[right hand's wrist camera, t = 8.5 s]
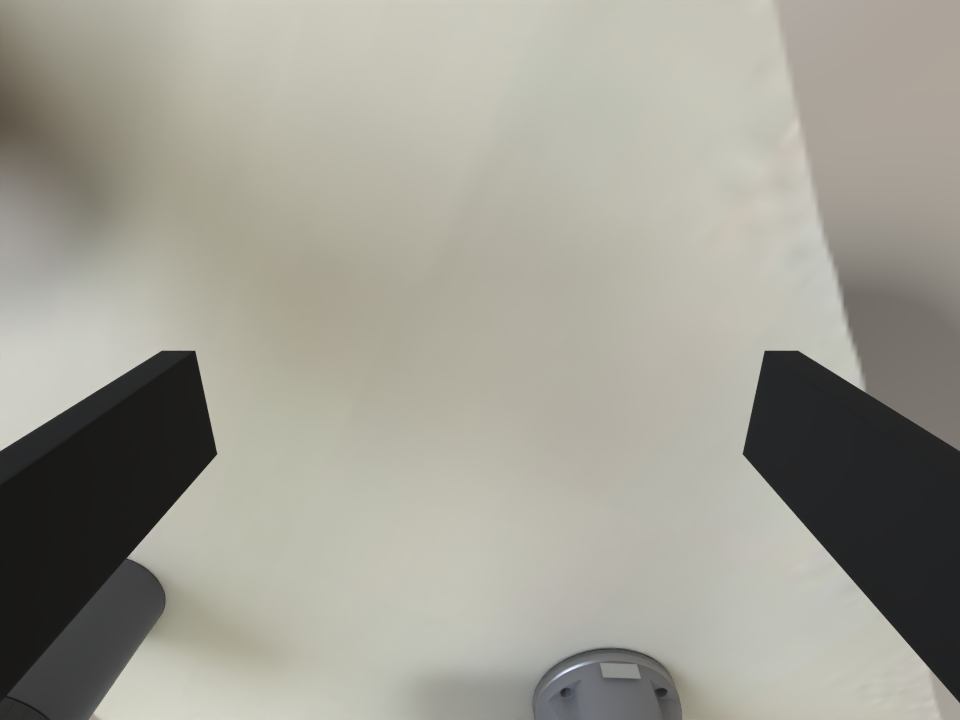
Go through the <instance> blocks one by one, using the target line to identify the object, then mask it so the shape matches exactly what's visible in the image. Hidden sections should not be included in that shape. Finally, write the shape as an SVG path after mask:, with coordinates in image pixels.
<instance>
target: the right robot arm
mask: <svg viewBox="0 0 960 720" xmlns="http://www.w3.org/2000/svg"><path fill="white" fill-rule="evenodd" d="M216 455H217V451H216V446H215V441H214V437H213V432H212V427H211V423H210V418H209V413H208V409H207V404H206V399H205V394H204V390H203V385H202V380H201V376H200V371H199V366H198V362H197V357H196V352H195V351H161V352H159V353H158V354H156V355H154V356H153V357H151V358H150V359H148V360H146V361H145V362H143V363H142V364H140V365H138V366H137V367H135V368H133V369H132V370H130V371H129V372H127V373H125V374H124V375H122V376H121V377H119V378H117V379H116V380H114V381H113V382H111V383H109V384H108V385H106V386H105V387H103V388H101V389H100V390H98V391H96V392H95V393H93V394H92V395H90V396H88V397H87V398H85V399H84V400H82V401H80V402H79V403H77V404H76V405H74V406H72V407H71V408H69V409H68V410H66V411H64V412H63V413H61V414H59V415H58V416H56V417H55V418H53V419H51V420H50V421H48V422H47V423H45V424H43V425H42V426H40V427H39V428H37V429H35V430H34V431H32V432H31V433H29V434H27V435H26V436H24V437H22V438H21V439H19V440H18V441H16V442H14V443H13V444H11V445H10V446H8V447H6V448H5V449H3V450H2V451H0V703H1V701H2V700H3V699H4V698H5V697H6V696H7V695H8V693H9V692H10V691H11V690H12V689H13V688H14V686H15V685H16V684H17V683H18V682H19V681H20V680H21V678H22V677H23V676H24V675H25V674H26V673H27V672H28V670H29V669H30V668H31V667H32V666H33V665H34V664H35V662H36V661H37V660H38V659H39V658H40V657H41V656H42V654H43V653H44V652H45V651H46V650H47V649H48V648H49V646H50V645H51V644H52V643H53V642H54V641H55V640H56V638H57V637H58V636H59V635H60V634H61V633H62V631H63V630H64V629H65V628H66V627H67V626H68V625H69V623H70V622H71V621H72V620H73V619H74V618H75V617H76V615H77V614H78V613H79V612H80V611H81V610H82V609H83V607H84V606H85V605H86V604H87V603H88V602H89V601H90V599H91V598H92V597H93V596H94V595H95V594H96V593H97V591H98V590H99V589H100V588H101V587H102V586H103V585H104V583H105V582H106V581H107V580H108V579H109V578H110V576H111V575H112V574H113V573H114V572H115V571H116V570H117V568H118V567H119V566H120V565H121V564H122V563H123V562H124V560H125V559H126V558H127V557H128V556H129V555H130V554H131V552H132V551H133V550H134V549H135V548H136V547H137V546H138V544H139V543H140V542H141V541H142V540H143V539H144V538H145V536H146V535H147V534H148V533H149V532H150V531H151V530H152V528H153V527H154V526H155V525H156V524H157V523H158V521H159V520H160V519H161V518H162V517H163V516H164V515H165V513H166V512H167V511H168V510H169V509H170V508H171V507H172V505H173V504H174V503H175V502H176V501H177V500H178V499H179V497H180V496H181V495H182V494H183V493H184V492H185V491H186V489H187V488H188V487H189V486H190V485H191V484H192V483H193V481H194V480H195V479H196V478H197V477H198V476H199V475H200V473H201V472H202V471H203V470H204V469H205V468H206V466H207V465H208V464H209V463H210V462H211V461H212V460H213V458H214V457H215V456H216ZM743 455H744V456H745V457H746V458H747V460H748V461H749V462H750V463H751V464H752V465H753V466H754V468H755V469H756V470H757V471H758V472H759V473H760V475H761V476H762V477H763V478H764V479H765V480H766V481H767V483H768V484H769V485H770V486H771V487H772V488H773V489H774V491H775V492H776V493H777V494H778V495H779V496H780V497H781V499H782V500H783V501H784V502H785V503H786V504H787V505H788V507H789V508H790V509H791V510H792V511H793V512H794V513H795V515H796V516H797V517H798V518H799V519H800V520H801V521H802V523H803V524H804V525H805V526H806V527H807V528H808V530H809V531H810V532H811V533H812V534H813V535H814V536H815V538H816V539H817V540H818V541H819V542H820V543H821V544H822V546H823V547H824V548H825V549H826V550H827V551H828V552H829V554H830V555H831V556H832V557H833V558H834V559H835V560H836V562H837V563H838V564H839V565H840V566H841V567H842V568H843V570H844V571H845V572H846V573H847V574H848V575H849V576H850V578H851V579H852V580H853V581H854V582H855V583H856V585H857V586H858V587H859V588H860V589H861V590H862V591H863V593H864V594H865V595H866V596H867V597H868V598H869V599H870V601H871V602H872V603H873V604H874V605H875V606H876V607H877V609H878V610H879V611H880V612H881V613H882V614H883V615H884V617H885V618H886V619H887V620H888V621H889V622H890V623H891V625H892V626H893V627H894V628H895V629H896V630H897V631H898V633H899V634H900V635H901V636H902V637H903V638H904V640H905V641H906V642H907V643H908V644H909V645H910V646H911V648H912V649H913V650H914V651H915V652H916V653H917V654H918V656H919V657H920V658H921V659H922V660H923V661H924V662H925V664H926V665H927V666H928V667H929V668H930V669H931V670H932V672H933V673H934V674H935V675H936V676H937V677H938V678H939V680H940V681H941V682H942V683H943V684H944V685H945V686H946V688H947V689H948V690H949V691H950V692H951V693H952V695H953V696H954V697H955V698H956V699H957V700H958V701H959V703H960V451H958V450H957V449H955V448H954V447H952V446H950V445H949V444H947V443H946V442H944V441H942V440H941V439H939V438H937V437H936V436H934V435H933V434H931V433H929V432H928V431H926V430H925V429H923V428H921V427H920V426H918V425H917V424H915V423H913V422H912V421H910V420H909V419H907V418H905V417H904V416H902V415H900V414H899V413H897V412H896V411H894V410H892V409H891V408H889V407H888V406H886V405H884V404H883V403H881V402H880V401H878V400H876V399H875V398H873V397H871V396H870V395H868V394H867V393H865V392H864V391H862V390H860V389H859V388H857V387H855V386H854V385H852V384H851V383H849V382H847V381H846V380H844V379H843V378H841V377H839V376H838V375H836V374H835V373H833V372H831V371H830V370H828V369H827V368H825V367H823V366H822V365H820V364H818V363H817V362H815V361H814V360H812V359H810V358H809V357H807V356H806V355H804V354H802V353H801V352H799V351H765V352H764V357H763V362H762V366H761V371H760V376H759V380H758V385H757V390H756V394H755V399H754V404H753V409H752V413H751V418H750V423H749V427H748V432H747V437H746V441H745V446H744V451H743ZM533 708H534V718H535V720H682V710H681V705H680V700H679V696H678V693H677V690H676V687H675V685H674V682H673V680H672V678H671V676H670V675H669V673H668V672H667V671H666V669H665V668H663V667H662V666H661V665H660V664H659V663H657V662H656V661H654V660H653V659H651V658H649V657H647V656H644V655H641V654H639V653H635V652H631V651H626V650H614V649H607V650H596V651H590V652H586V653H582V654H579V655H576V656H573V657H571V658H568V659H566V660H564V661H562V662H561V663H559V664H558V665H556V666H555V667H553V668H552V669H551V670H550V671H549V672H548V673H547V674H546V675H545V676H544V677H543V678H542V679H541V681H540V682H539V684H538V686H537V688H536V690H535V694H534V699H533Z"/></svg>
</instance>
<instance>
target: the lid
mask: <svg viewBox="0 0 960 720" xmlns="http://www.w3.org/2000/svg"><path fill="white" fill-rule="evenodd" d="M0 720H47V719H46V718H45V717H44V716H42V715H41V714H40V713H38V712H37V711H35V710H33V709H32V708H30V707H28V706H26V705H24V704H22V703H20V702H17V701H15V700H12V699H9V698H6V697H5V698H4V699H3V700H2V701H1V703H0Z"/></svg>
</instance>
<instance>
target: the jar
mask: <svg viewBox="0 0 960 720" xmlns="http://www.w3.org/2000/svg"><path fill="white" fill-rule="evenodd" d="M164 606H165V595H164V592H163V589H162V587H161V585H160V583H159V582H158V580H157V579H156V578H155V577H154V576H153V575H152V574H151V573H150V572H149V571H148V570H146V569H145V568H144V567H142V566H140V565H139V564H137V563H135V562H133V561H131V560H128V559H125V560H124V562H123V563H122V564H121V565H120V566H119V567H118V568H117V570H116V571H115V572H114V573H113V574H112V575H111V576H110V578H109V579H108V580H107V581H106V582H105V583H104V585H103V586H102V587H101V588H100V589H99V590H98V591H97V593H96V594H95V595H94V596H93V597H92V598H91V599H90V601H89V602H88V603H87V604H86V605H85V606H84V607H83V609H82V610H81V611H80V612H79V613H78V614H77V615H76V617H75V618H74V619H73V620H72V621H71V622H70V623H69V625H68V626H67V627H66V628H65V629H64V630H63V631H62V633H61V634H60V635H59V636H58V637H57V638H56V640H55V641H54V642H53V643H52V644H51V645H50V646H49V648H48V649H47V650H46V651H45V652H44V653H43V654H42V656H41V657H40V658H39V659H38V660H37V661H36V662H35V664H34V665H33V666H32V667H31V668H30V669H29V670H28V672H27V673H26V674H25V675H24V676H23V677H22V678H21V680H20V681H19V682H18V683H17V684H16V685H15V686H14V688H13V689H12V690H11V691H10V692H9V693H8V695H7V696H6V698H9V699H12V700H15V701H17V702H20V703H22V704H24V705H26V706H28V707H30V708H32V709H33V710H35V711H37V712H38V713H40V714H41V715H42V716H44V717H45V718H46V719H47V720H89V718H90V717H91V715H92V714H93V712H94V711H95V710H96V708H97V707H98V705H99V704H100V702H101V701H102V699H103V698H104V697H105V695H106V694H107V692H108V691H109V689H110V688H111V686H112V685H113V684H114V682H115V681H116V679H117V678H118V676H119V675H120V673H121V672H122V670H123V669H124V668H125V666H126V665H127V663H128V662H129V660H130V659H131V657H132V656H133V655H134V653H135V652H136V650H137V649H138V647H139V646H140V644H141V643H142V642H143V640H144V639H145V637H146V636H147V634H148V633H149V631H150V630H151V629H152V627H153V626H154V624H155V623H156V621H157V620H158V618H159V617H160V615H161V614H162V612H163V610H164Z"/></svg>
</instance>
